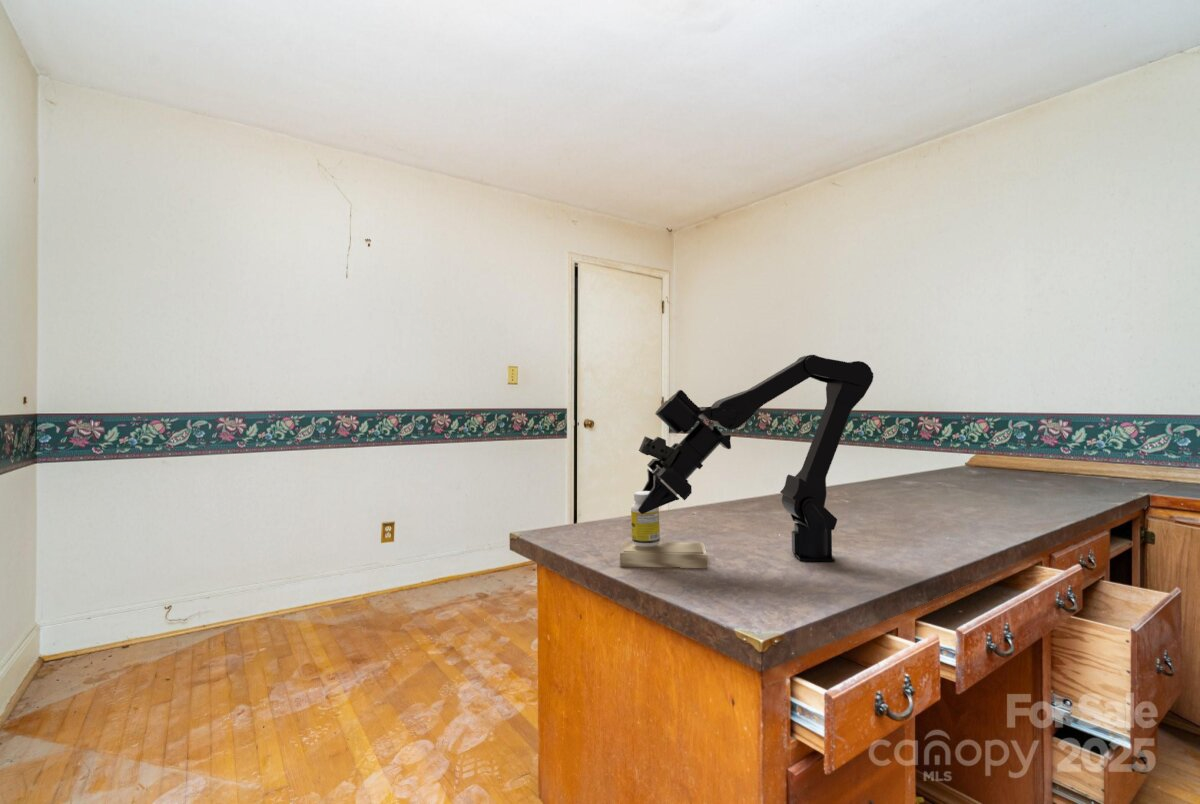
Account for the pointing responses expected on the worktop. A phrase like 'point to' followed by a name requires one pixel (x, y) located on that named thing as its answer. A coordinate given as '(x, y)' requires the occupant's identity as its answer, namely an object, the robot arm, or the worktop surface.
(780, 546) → the worktop surface
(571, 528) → the worktop surface
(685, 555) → the birch plinth
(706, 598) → the worktop surface
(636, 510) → the supplement bottle
